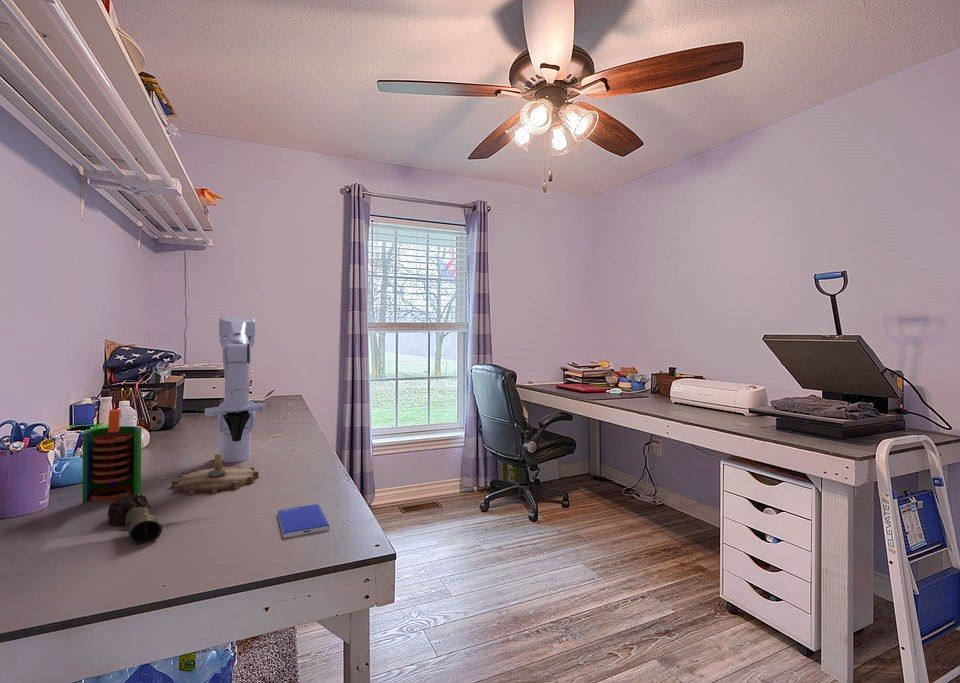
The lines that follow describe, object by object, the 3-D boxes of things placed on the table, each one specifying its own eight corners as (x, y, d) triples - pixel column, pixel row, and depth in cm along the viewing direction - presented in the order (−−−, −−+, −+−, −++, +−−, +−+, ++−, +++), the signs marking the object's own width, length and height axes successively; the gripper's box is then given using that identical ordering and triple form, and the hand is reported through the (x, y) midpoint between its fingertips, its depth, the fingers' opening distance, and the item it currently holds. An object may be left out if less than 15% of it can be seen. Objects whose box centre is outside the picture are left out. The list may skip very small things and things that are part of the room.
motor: (82, 511, 96) (82, 415, 95) (82, 499, 102) (82, 410, 102) (142, 500, 102) (143, 411, 102) (138, 490, 109) (139, 406, 109)
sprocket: (259, 487, 108) (259, 464, 108) (165, 499, 100) (165, 474, 100) (257, 467, 124) (257, 447, 124) (177, 476, 116) (177, 454, 116)
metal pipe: (162, 540, 83) (162, 509, 83) (115, 553, 78) (114, 520, 78) (146, 512, 96) (146, 485, 95) (105, 521, 91) (104, 493, 91)
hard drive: (277, 510, 95) (283, 532, 84) (318, 503, 98) (329, 524, 88) (277, 517, 95) (283, 541, 84) (318, 510, 98) (329, 532, 88)
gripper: (212, 392, 112) (212, 448, 112) (271, 388, 123) (270, 438, 123) (201, 390, 117) (201, 443, 117) (259, 386, 128) (259, 434, 128)
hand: (236, 440), depth 120 cm, fingers closed
